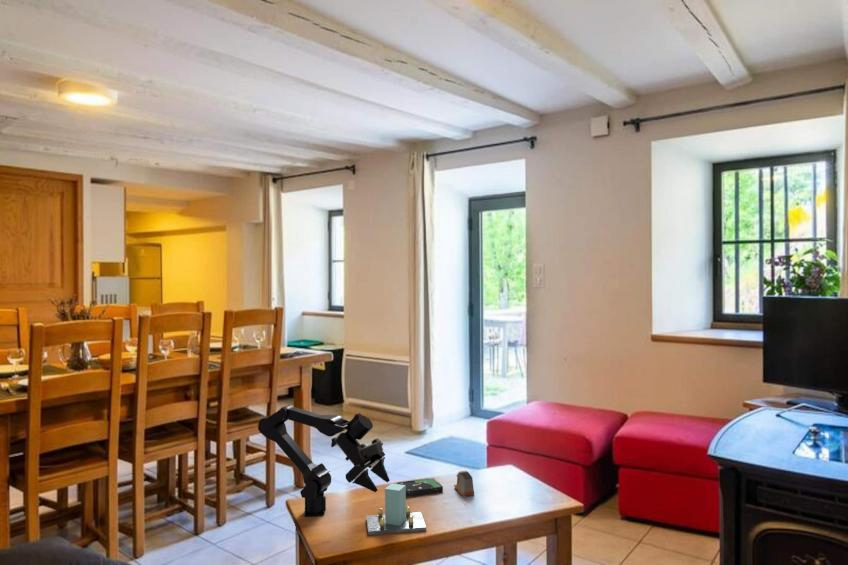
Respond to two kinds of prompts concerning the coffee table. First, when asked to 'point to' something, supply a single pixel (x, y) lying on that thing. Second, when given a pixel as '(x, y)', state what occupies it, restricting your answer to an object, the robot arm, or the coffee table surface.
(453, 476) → the coffee table surface
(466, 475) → the electronic device
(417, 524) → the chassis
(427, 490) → the disk drive
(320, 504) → the robot arm
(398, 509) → the teal block
